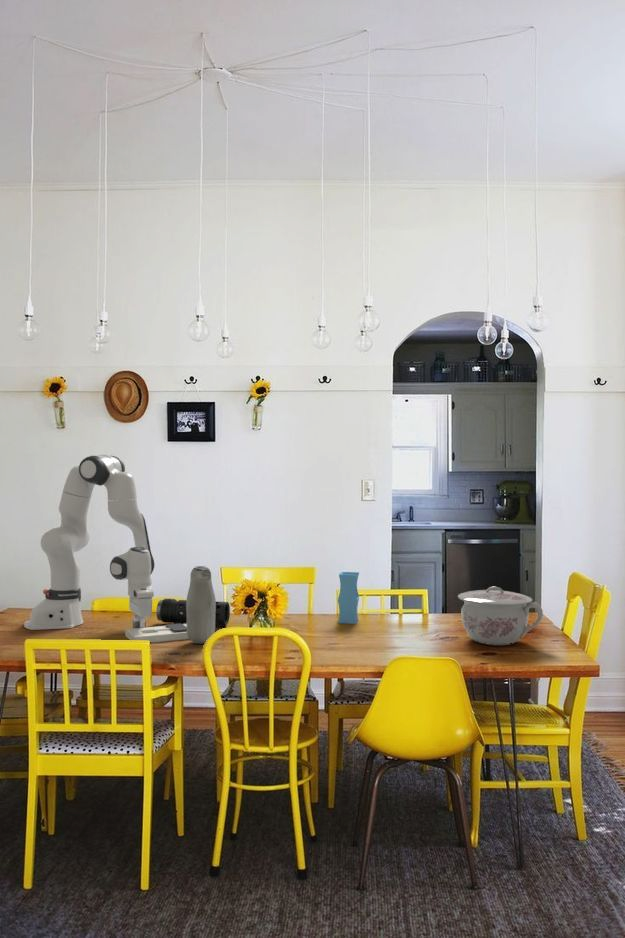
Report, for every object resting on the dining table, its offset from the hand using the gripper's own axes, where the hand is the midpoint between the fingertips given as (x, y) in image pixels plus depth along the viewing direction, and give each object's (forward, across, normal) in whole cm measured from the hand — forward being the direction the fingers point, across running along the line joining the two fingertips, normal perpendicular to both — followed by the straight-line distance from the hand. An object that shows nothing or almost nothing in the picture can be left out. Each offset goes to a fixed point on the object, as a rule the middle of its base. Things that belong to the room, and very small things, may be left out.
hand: (140, 626), depth 311 cm
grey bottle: (+3, +25, +16) cm, 30 cm away
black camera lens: (+3, -5, +23) cm, 23 cm away
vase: (+4, +13, +84) cm, 85 cm away
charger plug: (+2, 0, 0) cm, 3 cm away
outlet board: (+3, +10, +6) cm, 12 cm away
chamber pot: (+5, +66, +117) cm, 134 cm away
